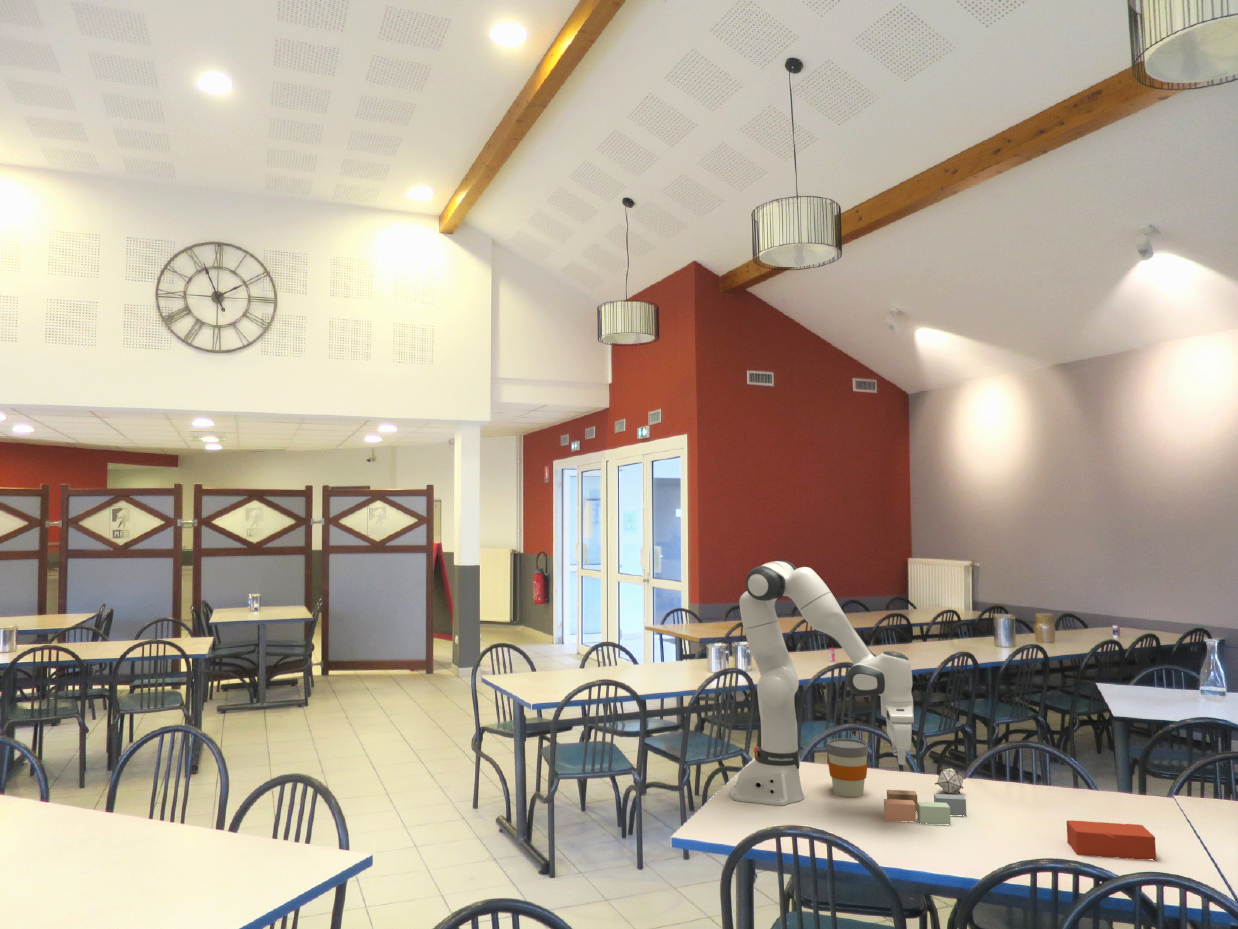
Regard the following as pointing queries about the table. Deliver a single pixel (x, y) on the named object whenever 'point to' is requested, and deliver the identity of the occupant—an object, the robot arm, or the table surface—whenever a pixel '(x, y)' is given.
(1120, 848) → the brick
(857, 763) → the reusable coffee cup
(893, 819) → the terracotta block
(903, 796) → the walnut block
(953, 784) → the game die
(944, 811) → the sage block
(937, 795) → the slate block
